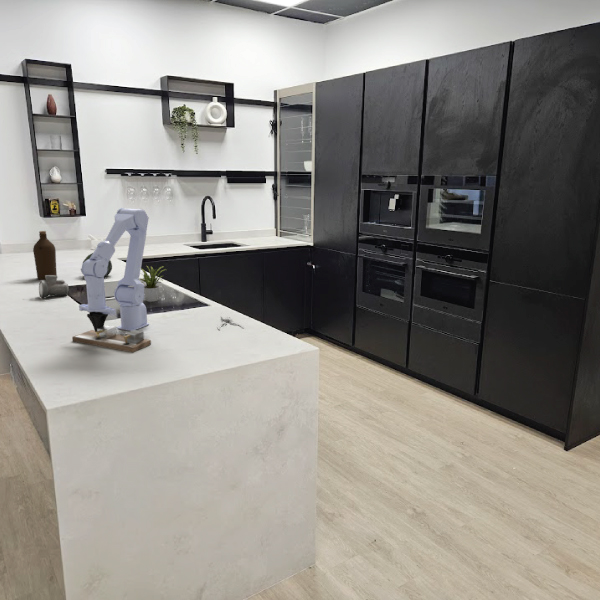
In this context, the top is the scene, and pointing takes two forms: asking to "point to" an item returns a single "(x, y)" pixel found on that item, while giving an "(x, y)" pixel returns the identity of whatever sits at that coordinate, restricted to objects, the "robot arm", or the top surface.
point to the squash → (107, 267)
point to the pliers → (229, 322)
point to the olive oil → (44, 257)
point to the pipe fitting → (52, 286)
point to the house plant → (151, 284)
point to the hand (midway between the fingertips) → (99, 332)
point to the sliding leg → (106, 331)
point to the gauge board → (115, 340)
